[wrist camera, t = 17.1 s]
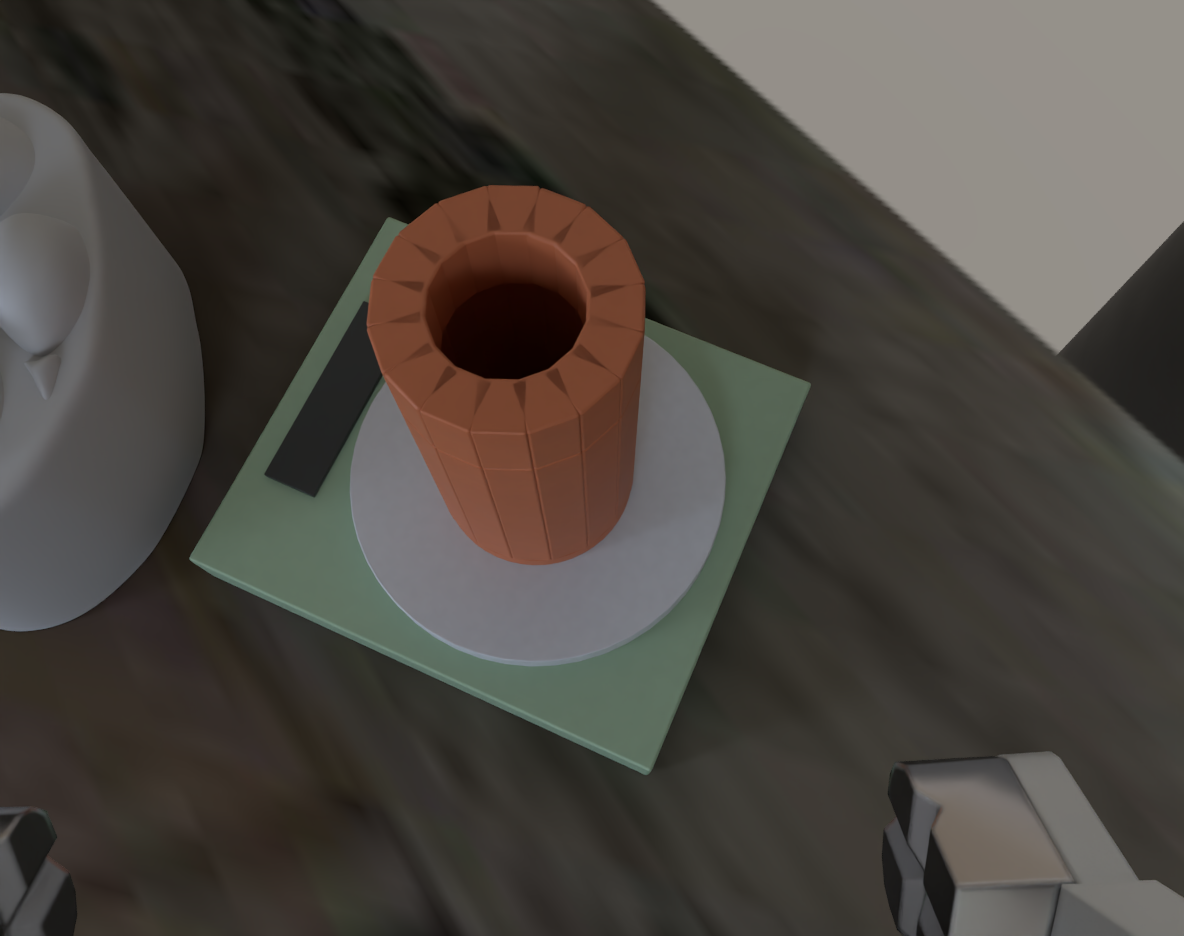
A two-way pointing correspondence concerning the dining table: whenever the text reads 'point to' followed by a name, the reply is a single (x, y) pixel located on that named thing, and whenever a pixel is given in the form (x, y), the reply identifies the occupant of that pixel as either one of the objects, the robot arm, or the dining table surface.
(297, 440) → the scale
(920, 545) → the dining table surface
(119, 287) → the lumpy-topped squat cylinder
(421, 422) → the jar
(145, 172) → the dining table surface
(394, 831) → the dining table surface
